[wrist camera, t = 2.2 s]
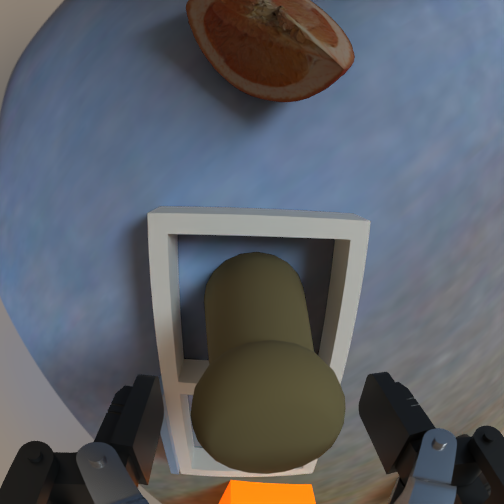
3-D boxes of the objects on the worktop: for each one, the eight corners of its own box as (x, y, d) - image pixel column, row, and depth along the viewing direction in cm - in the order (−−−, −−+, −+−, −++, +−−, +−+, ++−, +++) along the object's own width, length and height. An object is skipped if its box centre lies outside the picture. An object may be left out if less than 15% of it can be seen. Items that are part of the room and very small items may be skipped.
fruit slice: (171, 43, 14) (150, 4, 9) (252, -21, 13) (257, -68, 8) (279, 133, 16) (296, 119, 11) (355, 61, 15) (392, 32, 10)
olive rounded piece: (320, 271, 18) (407, 394, 7) (280, 352, 19) (312, 497, 9) (223, 237, 17) (201, 349, 6) (192, 326, 19) (156, 474, 8)
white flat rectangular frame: (150, 206, 16) (131, 215, 13) (353, 213, 17) (376, 223, 14) (177, 451, 22) (173, 479, 19) (307, 452, 23) (314, 479, 20)
